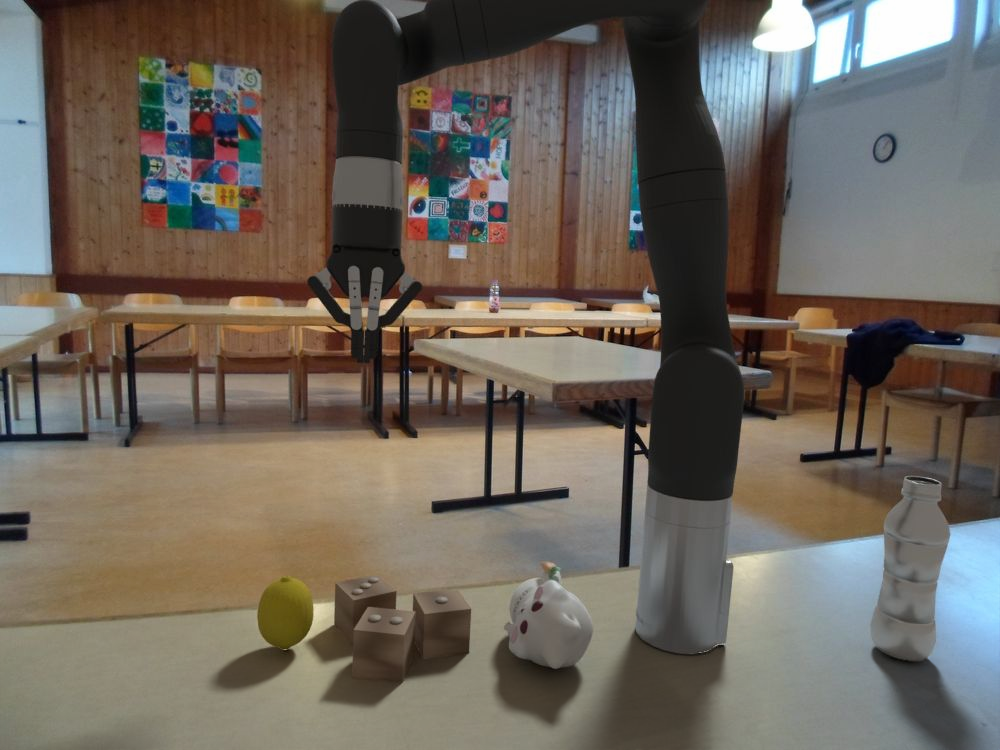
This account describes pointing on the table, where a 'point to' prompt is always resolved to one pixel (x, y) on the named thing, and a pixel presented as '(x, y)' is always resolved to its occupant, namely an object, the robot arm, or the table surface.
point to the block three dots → (360, 601)
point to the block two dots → (383, 644)
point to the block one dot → (441, 623)
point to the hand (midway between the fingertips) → (363, 362)
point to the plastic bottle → (911, 572)
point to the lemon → (285, 612)
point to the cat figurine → (548, 621)
